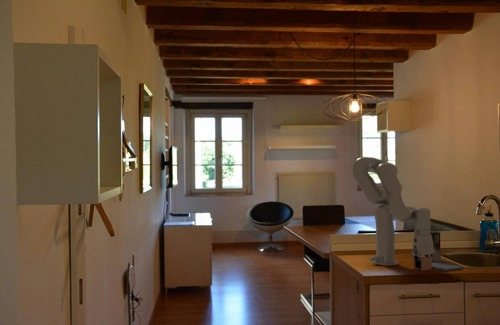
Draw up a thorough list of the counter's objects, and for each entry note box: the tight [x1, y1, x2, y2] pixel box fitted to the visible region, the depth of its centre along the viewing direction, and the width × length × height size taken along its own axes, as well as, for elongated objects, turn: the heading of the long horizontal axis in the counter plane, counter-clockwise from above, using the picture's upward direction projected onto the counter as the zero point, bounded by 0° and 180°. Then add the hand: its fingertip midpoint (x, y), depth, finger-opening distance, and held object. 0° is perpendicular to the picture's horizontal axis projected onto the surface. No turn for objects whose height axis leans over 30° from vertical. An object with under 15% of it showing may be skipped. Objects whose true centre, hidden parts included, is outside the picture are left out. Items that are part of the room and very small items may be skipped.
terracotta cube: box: [413, 255, 433, 271], centre depth 223 cm, size 6×6×6 cm
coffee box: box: [422, 230, 442, 263], centre depth 244 cm, size 9×6×16 cm
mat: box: [432, 261, 464, 272], centre depth 227 cm, size 14×14×1 cm
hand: (422, 267), depth 223 cm, fingers closed on terracotta cube, 6 cm apart
